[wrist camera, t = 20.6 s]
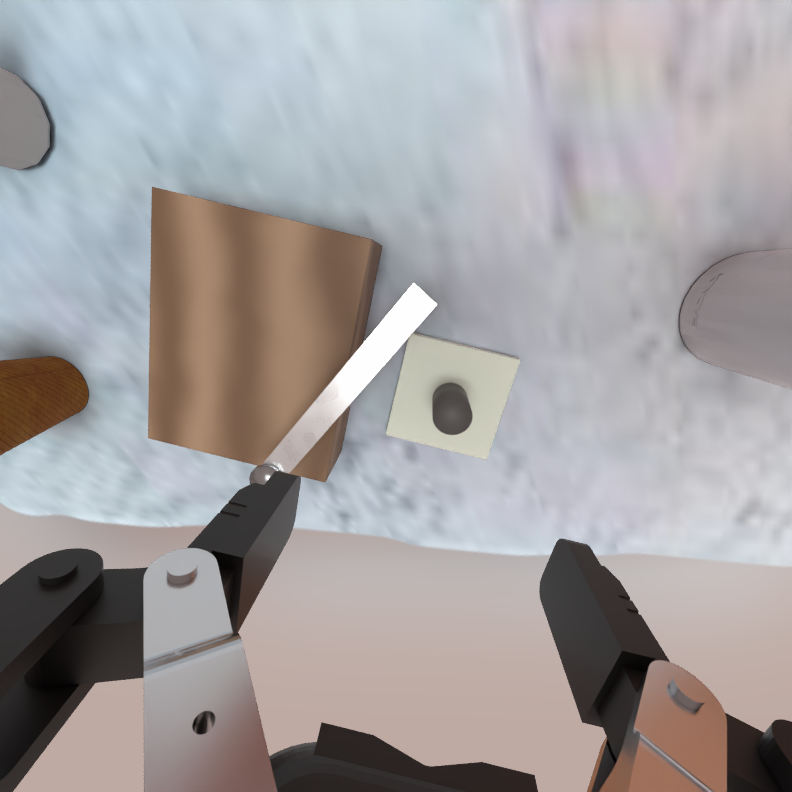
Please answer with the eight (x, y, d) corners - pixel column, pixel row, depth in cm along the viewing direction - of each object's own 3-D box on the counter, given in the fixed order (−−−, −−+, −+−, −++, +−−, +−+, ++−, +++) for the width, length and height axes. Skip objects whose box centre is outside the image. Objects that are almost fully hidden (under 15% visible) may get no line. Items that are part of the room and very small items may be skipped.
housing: (382, 246, 32) (368, 237, 25) (341, 451, 38) (320, 491, 31) (201, 202, 32) (135, 181, 25) (190, 414, 38) (135, 445, 31)
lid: (516, 356, 34) (533, 373, 29) (484, 452, 37) (494, 484, 32) (410, 331, 34) (406, 342, 29) (387, 428, 38) (379, 455, 32)
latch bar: (439, 304, 25) (439, 307, 23) (280, 485, 31) (268, 501, 29) (412, 280, 25) (410, 281, 23) (256, 467, 31) (243, 482, 28)
